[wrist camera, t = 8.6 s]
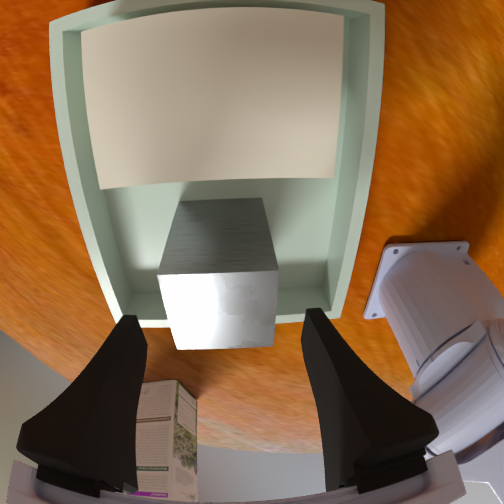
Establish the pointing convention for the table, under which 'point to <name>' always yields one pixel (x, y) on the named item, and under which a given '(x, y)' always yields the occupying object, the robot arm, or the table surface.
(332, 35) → the off-white block
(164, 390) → the syrup box
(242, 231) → the tin
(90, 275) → the table surface
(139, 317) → the pale green tray
